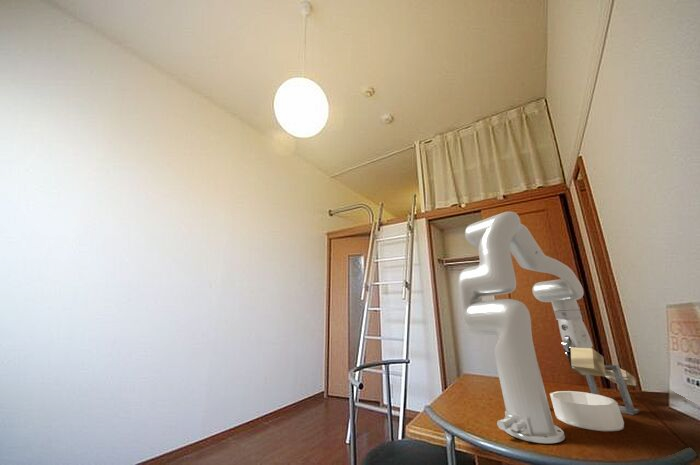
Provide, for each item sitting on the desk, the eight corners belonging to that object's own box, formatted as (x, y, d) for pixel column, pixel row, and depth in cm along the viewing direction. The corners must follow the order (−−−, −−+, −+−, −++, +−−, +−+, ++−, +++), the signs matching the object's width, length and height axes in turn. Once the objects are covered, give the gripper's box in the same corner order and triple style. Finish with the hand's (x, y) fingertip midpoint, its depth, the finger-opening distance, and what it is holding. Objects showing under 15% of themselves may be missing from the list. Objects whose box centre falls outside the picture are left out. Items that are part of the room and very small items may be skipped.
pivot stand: (633, 415, 69) (616, 366, 73) (591, 406, 77) (577, 362, 81) (639, 411, 71) (622, 364, 75) (597, 403, 79) (584, 360, 83)
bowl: (610, 436, 58) (601, 409, 60) (545, 418, 70) (540, 396, 72) (633, 423, 64) (625, 399, 66) (570, 408, 76) (565, 388, 78)
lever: (594, 368, 71) (592, 345, 74) (548, 363, 81) (548, 343, 84) (639, 400, 76) (636, 377, 80) (591, 392, 86) (589, 372, 90)
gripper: (567, 316, 87) (585, 371, 82) (591, 314, 95) (608, 365, 89) (544, 316, 93) (558, 368, 88) (568, 314, 101) (583, 362, 95)
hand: (583, 366), depth 89 cm, fingers open, 9 cm apart
